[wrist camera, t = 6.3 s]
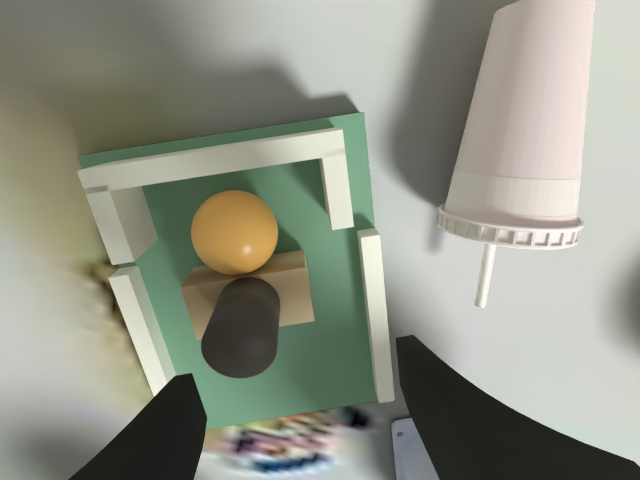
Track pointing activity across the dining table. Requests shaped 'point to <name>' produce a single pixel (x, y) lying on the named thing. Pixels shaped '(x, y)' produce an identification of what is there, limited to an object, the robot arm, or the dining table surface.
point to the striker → (247, 311)
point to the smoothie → (524, 134)
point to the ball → (234, 232)
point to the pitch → (293, 234)
